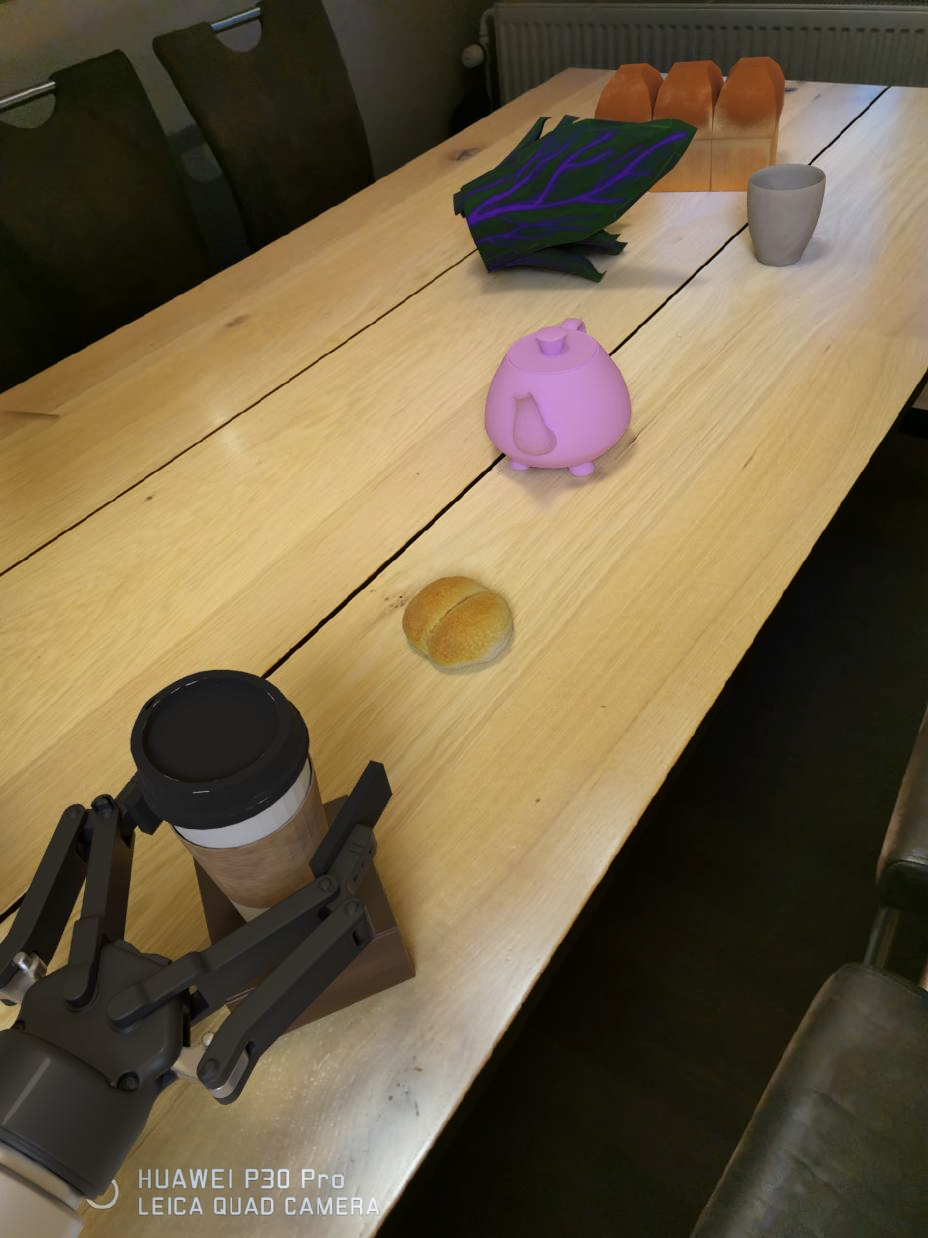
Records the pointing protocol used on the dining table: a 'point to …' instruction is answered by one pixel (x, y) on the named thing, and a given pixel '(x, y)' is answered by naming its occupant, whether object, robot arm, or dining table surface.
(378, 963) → the riser
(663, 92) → the bread
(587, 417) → the teapot
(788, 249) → the mug
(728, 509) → the dining table surface
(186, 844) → the coffee cup
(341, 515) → the dining table surface
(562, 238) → the decorative plant
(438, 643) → the bread roll
